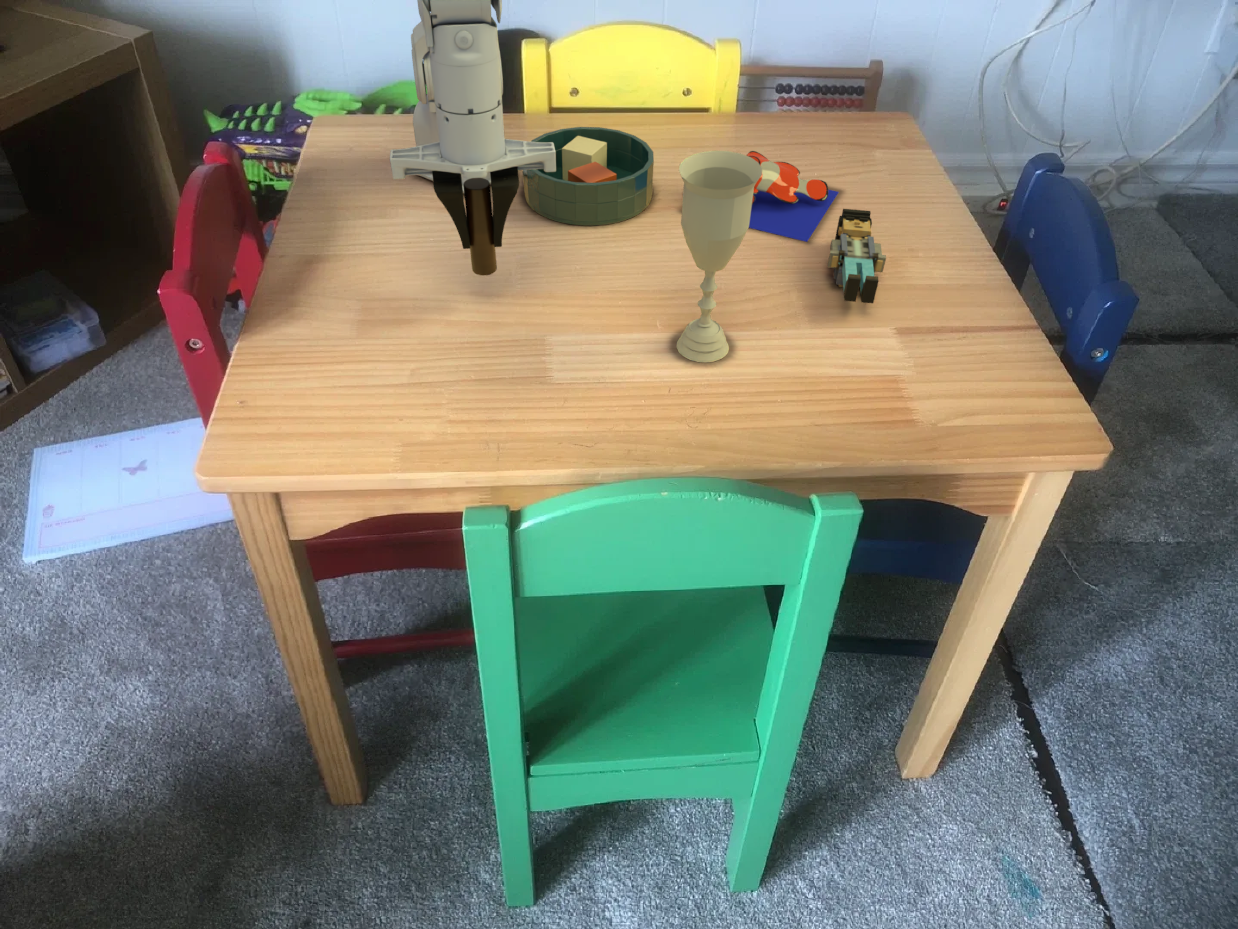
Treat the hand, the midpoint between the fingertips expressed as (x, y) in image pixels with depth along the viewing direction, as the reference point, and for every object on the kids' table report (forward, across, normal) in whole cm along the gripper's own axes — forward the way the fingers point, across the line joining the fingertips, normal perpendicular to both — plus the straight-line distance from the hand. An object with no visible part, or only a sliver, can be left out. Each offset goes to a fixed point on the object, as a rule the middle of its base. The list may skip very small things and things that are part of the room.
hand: (481, 242), depth 88 cm
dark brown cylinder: (+3, 0, 0) cm, 3 cm away
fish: (+7, +34, +18) cm, 39 cm away
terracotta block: (+7, +13, +19) cm, 24 cm away
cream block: (+7, +13, +26) cm, 30 cm away
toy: (+7, +38, 0) cm, 39 cm away
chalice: (+7, +20, -10) cm, 23 cm away
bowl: (+7, +13, +22) cm, 27 cm away
